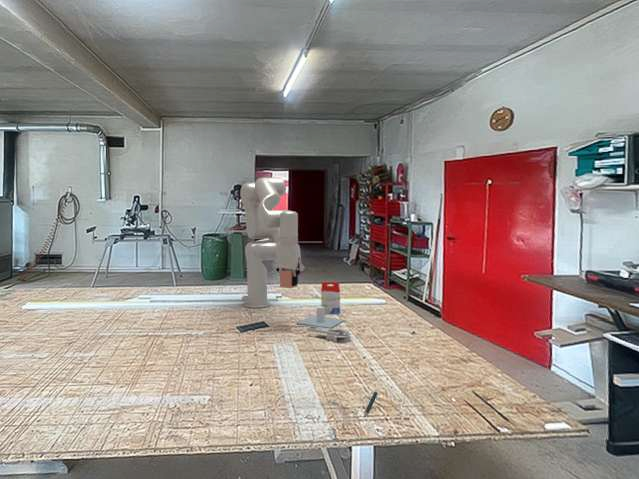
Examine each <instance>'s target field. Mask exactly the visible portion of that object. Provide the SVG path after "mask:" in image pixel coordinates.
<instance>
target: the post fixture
mask: <svg viewBox="0 0 639 479" xmlns="http://www.w3.org/2000/svg"><path fill="white" fill-rule="evenodd" d="M342 323H345V319H343V318H342V319H341V318H335V317H327V316H326V313H325V307H321V306H317V307H316V315H310V316H308V317H305V318H304V319H301V320H299V321H298V322H296V325H298V326H299V325H300V326H306V327H307V326H308V327H310V326H315V327H322V328H329V329H334V328H335V327H337V326H338V325H340V324H342Z"/></svg>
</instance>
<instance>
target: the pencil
mask: <svg viewBox="0 0 639 479" xmlns="http://www.w3.org/2000/svg"><path fill="white" fill-rule="evenodd" d="M377 395H378V392H377V391H374V392H373V394H372V396H371V398H370V400H369V402H368V405H367V406H366V409H365V411H364V413H363V414H364V417H366V416H368V415H369V412H370V410H371V408H372V406H373V404H374V402H375V399H376V397H377Z"/></svg>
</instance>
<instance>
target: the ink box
mask: <svg viewBox="0 0 639 479" xmlns="http://www.w3.org/2000/svg"><path fill="white" fill-rule="evenodd" d="M320 294H321V296H320V297H321V298H320V300H321V302H320V303H321V304H320V305H321V306H320V307H325V315H326V314H331V315H333V314H335V315H336V314H337V315H339V314H340V312H341V287H340V282H339V281H337V282H334V281H331V282H330V281H322V282H321V290H320Z"/></svg>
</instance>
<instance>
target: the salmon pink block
mask: <svg viewBox="0 0 639 479" xmlns="http://www.w3.org/2000/svg"><path fill="white" fill-rule="evenodd" d="M292 276H293V272H292V269H283V270H280V275H279V288H285V289H293V288H296V287H298V284H297V285H295V286H292Z"/></svg>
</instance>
